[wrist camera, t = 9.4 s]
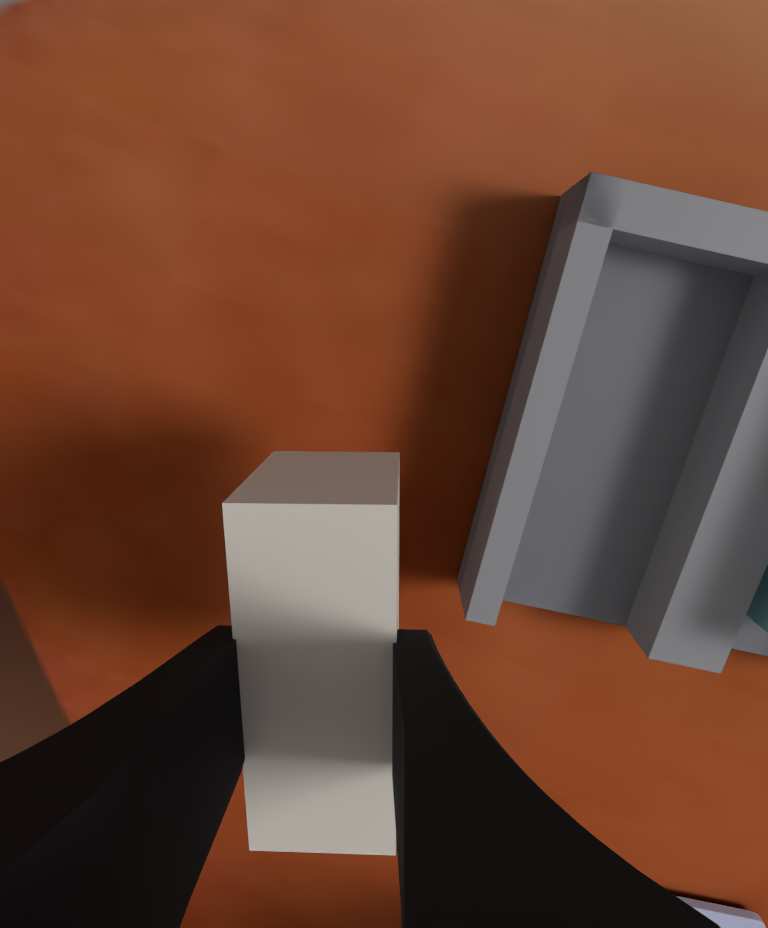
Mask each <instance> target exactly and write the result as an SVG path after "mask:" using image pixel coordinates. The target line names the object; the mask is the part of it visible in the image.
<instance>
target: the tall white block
mask: <svg viewBox="0 0 768 928" xmlns="http://www.w3.org/2000/svg"><path fill="white" fill-rule="evenodd" d="M399 483H400V452H293V451H274V452H273V453H272V454H271V455H270V456H269V457H268V458H267V459H266V460H265V461H264V462H263V463H262V464H261V465H260V466H259V467H258V468H257V469H256V470H255V471H254V472H253V473H252V474H251V475H250V476H249V477H248V478H247V479H246V480H245V481H244V482H243V483H242V484H241V485H240V486H239V487H238V488H237V489H236V490H235V491H234V492H233V493H232V494H231V495H230V496H229V497H228V498H227V499H226V500H225V501H224V502H223V503H222V509H223V522H224V534H225V547H226V560H227V573H228V585H229V598H230V611H231V623H232V636H233V639H236V645H237V658H238V672H239V685H240V698H241V712H242V725H243V738H244V752H245V761H244V764H243V776H244V788H245V801H246V814H247V826H248V839H249V850H251V851H281V852H310V853H339V854H369V855H396V824H395V810H394V795H393V780H392V701H393V643H397V629H399Z"/></svg>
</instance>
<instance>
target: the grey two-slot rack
mask: <svg viewBox="0 0 768 928" xmlns="http://www.w3.org/2000/svg"><path fill="white" fill-rule="evenodd" d="M767 564H768V212H767V211H762V210H758V209H753V208H749V207H744V206H740V205H736V204H731V203H727V202H722V201H718V200H714V199H709V198H705V197H700V196H696V195H692V194H687V193H683V192H678V191H674V190H670V189H665V188H661V187H656V186H652V185H648V184H643V183H639V182H634V181H630V180H625V179H621V178H617V177H612V176H608V175H603V174H599V173H595V172H591V173H589V174H588V175H587V176H585V177H584V178H583V179H582V180H580V181H579V182H578V183H576V184H575V185H574V186H573V187H571V188H570V189H569V190H567V191H566V192H565V193H564V194H562V195H561V197H560V201H559V205H558V209H557V212H556V216H555V220H554V223H553V227H552V231H551V234H550V238H549V242H548V245H547V249H546V253H545V256H544V260H543V264H542V268H541V271H540V275H539V279H538V282H537V286H536V290H535V293H534V297H533V301H532V304H531V308H530V312H529V315H528V319H527V323H526V327H525V330H524V334H523V338H522V341H521V345H520V349H519V352H518V356H517V360H516V363H515V367H514V371H513V374H512V378H511V382H510V386H509V389H508V393H507V397H506V400H505V404H504V408H503V411H502V415H501V419H500V422H499V426H498V430H497V434H496V437H495V441H494V445H493V448H492V452H491V456H490V459H489V463H488V467H487V470H486V474H485V478H484V481H483V485H482V489H481V493H480V496H479V500H478V504H477V507H476V511H475V515H474V518H473V522H472V526H471V529H470V533H469V537H468V540H467V544H466V548H465V552H464V555H463V559H462V563H461V566H460V570H459V574H458V577H457V581H458V586H459V591H460V596H461V601H462V606H463V610H464V615H465V620H468V621H473V622H478V623H482V624H487V625H492V626H495V624H496V620H497V617H498V614H499V610H500V607H501V604H502V600H504V601H509V602H513V603H518V604H523V605H528V606H532V607H537V608H542V609H547V610H551V611H556V612H561V613H566V614H570V615H575V616H580V617H584V618H589V619H594V620H599V621H603V622H608V623H613V624H618V625H622V626H626V628H627V629H628V631H629V632H630V633H631V635H632V636H633V638H634V639H635V640H636V642H637V643H638V645H639V646H640V647H641V649H642V650H643V652H644V653H645V654H646V656H647V657H648V658H649V659H654V660H659V661H664V662H668V663H673V664H678V665H683V666H687V667H692V668H697V669H702V670H706V671H711V672H716V673H721V672H722V669H723V667H724V665H725V662H726V660H727V658H728V655H729V653H730V651H731V648H732V649H736V650H741V651H746V652H750V653H755V654H760V655H765V656H768V633H767V632H766V631H764V630H763V629H762V628H761V627H760V626H759V625H758V624H756V623H755V622H754V621H753V620H752V619H751V618H750V617H748V616H747V615H746V613H747V611H748V609H749V606H750V604H751V602H752V599H753V597H754V595H755V592H756V590H757V588H758V585H759V583H760V581H761V578H762V576H763V574H764V571H765V569H766V567H767Z"/></svg>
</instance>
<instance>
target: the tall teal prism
mask: <svg viewBox="0 0 768 928" xmlns="http://www.w3.org/2000/svg"><path fill="white" fill-rule="evenodd" d="M746 615H747V616H748V617H750V618H751V619H752V620H753V621H754V622H755V623H756V624H758V625H759V626H760V627H761V628H762V629H763V630H764V631H766V632H767V633H768V564H767V567H766V569H765V571H764V574H763V576H762V578H761V581H760V583H759V585H758V588H757V590H756V592H755V595H754V597H753V599H752V602H751V604H750V606H749V609H748V611H747V613H746Z"/></svg>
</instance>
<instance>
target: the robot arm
mask: <svg viewBox="0 0 768 928" xmlns="http://www.w3.org/2000/svg"><path fill="white" fill-rule="evenodd" d="M244 761H245V752H244V738H243V725H242V712H241V698H240V685H239V672H238V658H237V645H236V639H233V636H232V626H217V627H215V628H213V629H212V630H210V631H209V632H207V633H206V634H204V635H203V636H202V637H200V638H199V639H197V640H196V641H195V642H193V643H192V644H190V645H189V646H188V647H186V648H185V649H184V650H182V651H181V652H179V653H178V654H177V655H175V656H174V657H172V658H171V659H170V660H168V661H167V662H165V663H164V664H163V665H161V666H160V667H158V668H157V669H156V670H154V671H153V672H151V673H150V674H149V675H147V676H146V677H144V678H143V679H142V680H140V681H139V682H137V683H136V684H134V685H133V686H131V687H129V688H128V689H126V690H125V691H123V692H122V693H120V694H119V695H117V696H116V697H114V698H113V699H111V700H109V701H108V702H106V703H105V704H103V705H102V706H100V707H99V708H97V709H96V710H94V711H93V712H91V713H89V714H88V715H86V716H85V717H83V718H81V719H80V720H78V721H76V722H75V723H73V724H71V725H69V726H68V727H66V728H64V729H63V730H61V731H59V732H57V733H56V734H54V735H52V736H50V737H48V738H46V739H45V740H43V741H41V742H39V743H37V744H35V745H34V746H32V747H30V748H28V749H26V750H24V751H22V752H20V753H18V754H16V755H15V756H13V757H11V758H9V759H6V760H4V761H2V762H0V928H180V925H181V922H182V919H183V917H184V914H185V911H186V908H187V906H188V903H189V900H190V897H191V895H192V893H193V890H194V888H195V885H196V883H197V880H198V878H199V875H200V873H201V870H202V868H203V865H204V863H205V861H206V858H207V856H208V853H209V851H210V848H211V846H212V843H213V841H214V838H215V836H216V834H217V831H218V829H219V826H220V824H221V821H222V819H223V816H224V814H225V811H226V809H227V806H228V804H229V801H230V799H231V796H232V794H233V791H234V789H235V786H236V784H237V781H238V779H239V776H240V774H241V771H242V768H243V764H244ZM392 780H393V795H394V810H395V824H396V839H397V853H398V868H399V882H400V897H401V918H402V928H766V927H765V925H764V923H763V921H762V919H761V918H760V916H759V915H758V914H757V913H755V912H752V911H749V910H744V909H739V908H734V907H729V906H724V905H719V904H714V903H709V902H704V901H699V900H695V899H690V898H685V897H680V896H675V895H674V894H672V893H671V892H669V891H668V890H666V889H665V888H663V887H662V886H660V885H659V884H657V883H656V882H654V881H653V880H651V879H650V878H648V877H647V876H646V875H644V874H643V873H641V872H640V871H638V870H637V869H636V868H634V867H633V866H632V865H630V864H629V863H628V862H626V861H625V860H624V859H622V858H621V857H620V856H619V855H617V854H616V853H615V852H613V851H612V850H611V849H610V848H608V847H607V846H606V845H604V844H603V843H602V842H601V841H599V840H598V839H597V838H595V837H594V836H593V835H592V834H591V833H589V832H588V831H587V830H586V829H585V828H583V827H582V826H581V825H580V824H579V823H578V822H577V821H575V820H574V819H573V818H572V817H571V816H570V815H569V814H568V813H567V812H565V811H564V810H563V809H562V808H561V807H560V806H559V805H558V804H557V803H555V802H554V801H553V800H552V799H551V798H550V797H549V796H548V795H547V794H546V793H544V792H543V791H542V790H541V789H540V788H539V787H538V786H537V784H536V783H535V782H534V781H533V780H532V779H531V778H530V777H529V776H528V775H527V774H526V773H525V772H524V771H523V770H522V769H521V768H520V767H519V766H518V764H517V763H516V762H515V761H514V760H513V759H512V758H511V757H510V756H509V754H508V753H507V752H506V751H505V750H504V749H503V747H502V746H501V745H500V744H499V743H498V741H497V740H496V739H495V738H494V736H493V735H492V734H491V733H490V731H489V730H488V729H487V727H486V726H485V725H484V723H483V722H482V721H481V719H480V718H479V717H478V715H477V714H476V713H475V711H474V710H473V708H472V707H471V705H470V704H469V703H468V701H467V700H466V698H465V696H464V695H463V693H462V692H461V690H460V689H459V687H458V686H457V684H456V682H455V681H454V679H453V678H452V676H451V674H450V673H449V671H448V669H447V667H446V665H445V664H444V662H443V660H442V658H441V656H440V654H439V652H438V650H437V648H436V645H435V643H434V640H433V637H432V635H431V634H430V633H429V632H428V631H427V630H403V629H397V643H393V701H392Z"/></svg>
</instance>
